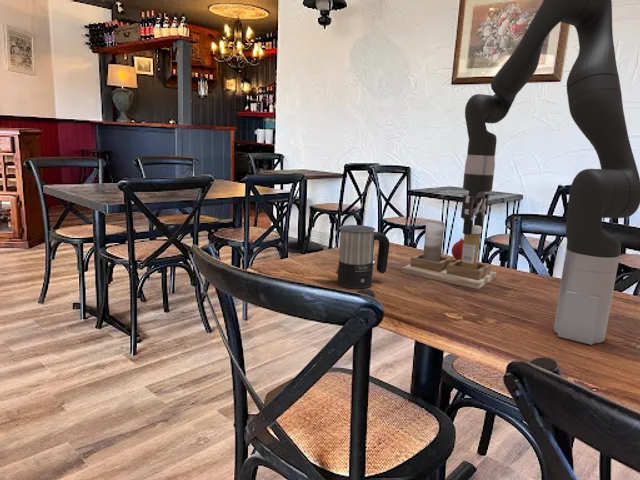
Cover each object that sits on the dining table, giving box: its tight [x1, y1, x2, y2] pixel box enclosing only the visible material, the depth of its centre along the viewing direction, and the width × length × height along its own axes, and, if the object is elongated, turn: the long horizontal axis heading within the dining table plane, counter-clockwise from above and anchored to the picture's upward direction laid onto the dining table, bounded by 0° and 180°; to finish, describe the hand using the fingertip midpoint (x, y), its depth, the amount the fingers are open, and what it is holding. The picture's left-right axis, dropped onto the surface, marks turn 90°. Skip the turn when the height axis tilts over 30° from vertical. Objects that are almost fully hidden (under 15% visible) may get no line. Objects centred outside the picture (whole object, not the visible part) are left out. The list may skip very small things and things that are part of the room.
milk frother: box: [336, 224, 390, 290], centre depth 128 cm, size 14×16×15 cm
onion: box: [451, 237, 464, 261], centre depth 153 cm, size 6×6×8 cm
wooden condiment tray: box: [401, 220, 497, 290], centre depth 137 cm, size 15×22×14 cm
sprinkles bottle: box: [461, 224, 483, 270], centre depth 134 cm, size 5×5×13 cm
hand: (472, 232), depth 133 cm, fingers open, 8 cm apart
